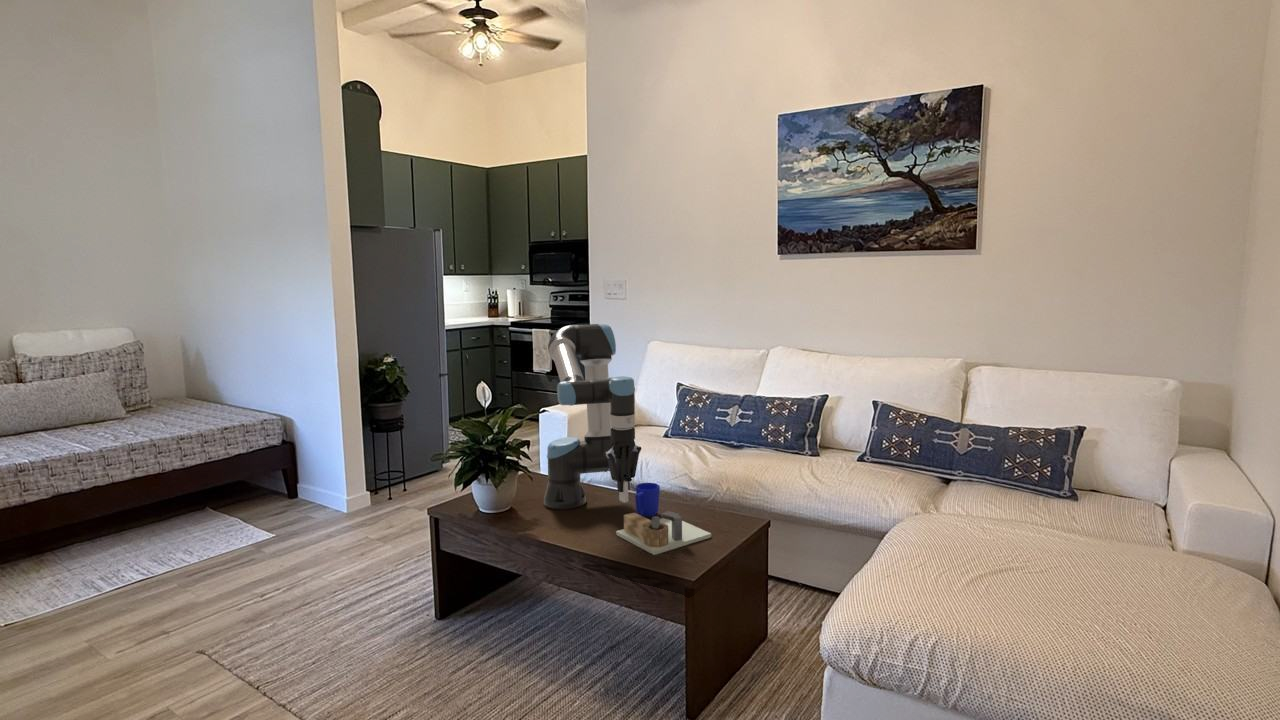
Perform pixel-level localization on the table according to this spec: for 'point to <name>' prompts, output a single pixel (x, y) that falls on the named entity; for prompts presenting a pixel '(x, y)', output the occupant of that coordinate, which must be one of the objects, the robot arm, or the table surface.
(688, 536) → the board
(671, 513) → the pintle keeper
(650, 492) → the mug
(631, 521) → the link
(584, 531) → the table surface
